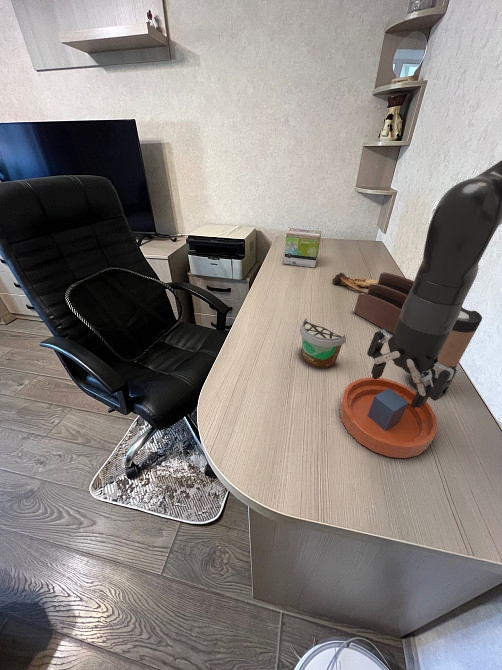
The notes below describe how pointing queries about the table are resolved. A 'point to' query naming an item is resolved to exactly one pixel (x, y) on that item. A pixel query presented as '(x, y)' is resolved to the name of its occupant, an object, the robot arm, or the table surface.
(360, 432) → the bowl
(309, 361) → the food container
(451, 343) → the travel mug
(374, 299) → the letter holder
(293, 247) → the tea box
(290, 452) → the table surface
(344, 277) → the brown wood root
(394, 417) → the block
